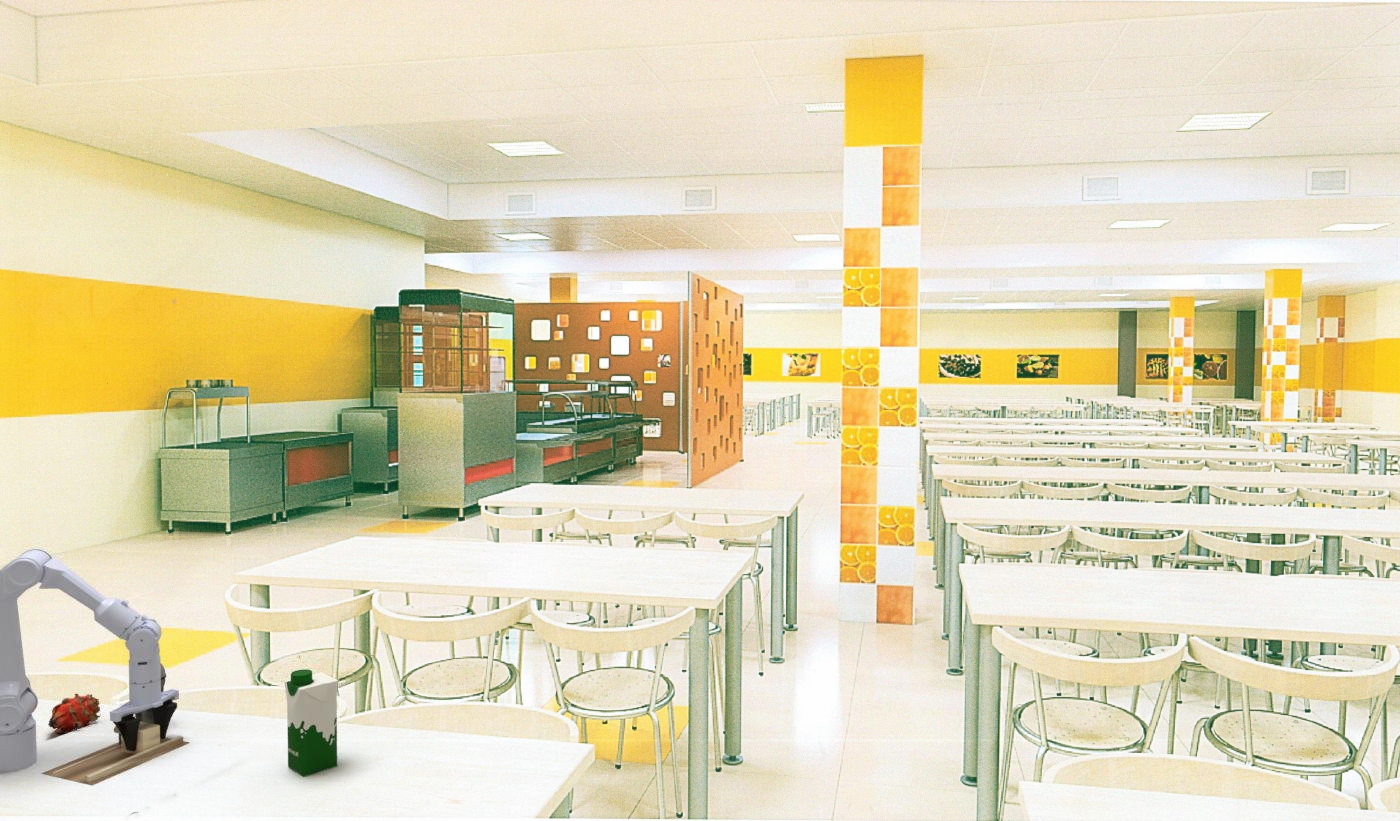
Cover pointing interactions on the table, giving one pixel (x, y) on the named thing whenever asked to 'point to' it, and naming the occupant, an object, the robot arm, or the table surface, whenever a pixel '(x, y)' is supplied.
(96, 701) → the dragon fruit
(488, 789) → the table surface
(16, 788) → the table surface
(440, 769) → the table surface
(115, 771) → the walnut board
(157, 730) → the block
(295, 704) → the milk carton
